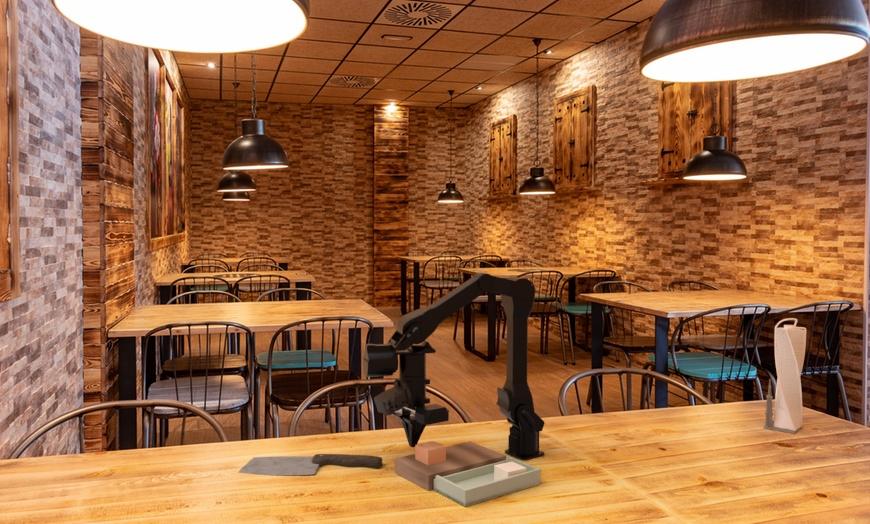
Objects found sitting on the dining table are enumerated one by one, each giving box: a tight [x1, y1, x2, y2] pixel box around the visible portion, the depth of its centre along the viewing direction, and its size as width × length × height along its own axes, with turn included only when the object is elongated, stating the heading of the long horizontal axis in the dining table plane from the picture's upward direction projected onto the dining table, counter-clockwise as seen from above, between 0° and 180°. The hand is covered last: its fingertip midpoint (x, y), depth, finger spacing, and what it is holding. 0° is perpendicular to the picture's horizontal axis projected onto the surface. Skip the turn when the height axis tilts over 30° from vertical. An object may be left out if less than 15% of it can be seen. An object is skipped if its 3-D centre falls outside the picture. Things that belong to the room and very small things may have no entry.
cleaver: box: [238, 453, 383, 477], centre depth 141 cm, size 29×10×2 cm, turn 89°
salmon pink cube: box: [414, 440, 447, 465], centre depth 137 cm, size 4×4×3 cm
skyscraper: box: [763, 317, 807, 434], centre depth 170 cm, size 8×8×28 cm
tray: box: [433, 456, 542, 508], centre depth 130 cm, size 19×10×3 cm, turn 126°
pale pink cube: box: [494, 461, 526, 481], centre depth 131 cm, size 4×4×3 cm
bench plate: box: [394, 441, 507, 492], centre depth 139 cm, size 20×12×3 cm, turn 126°
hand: (412, 446), depth 142 cm, fingers closed
